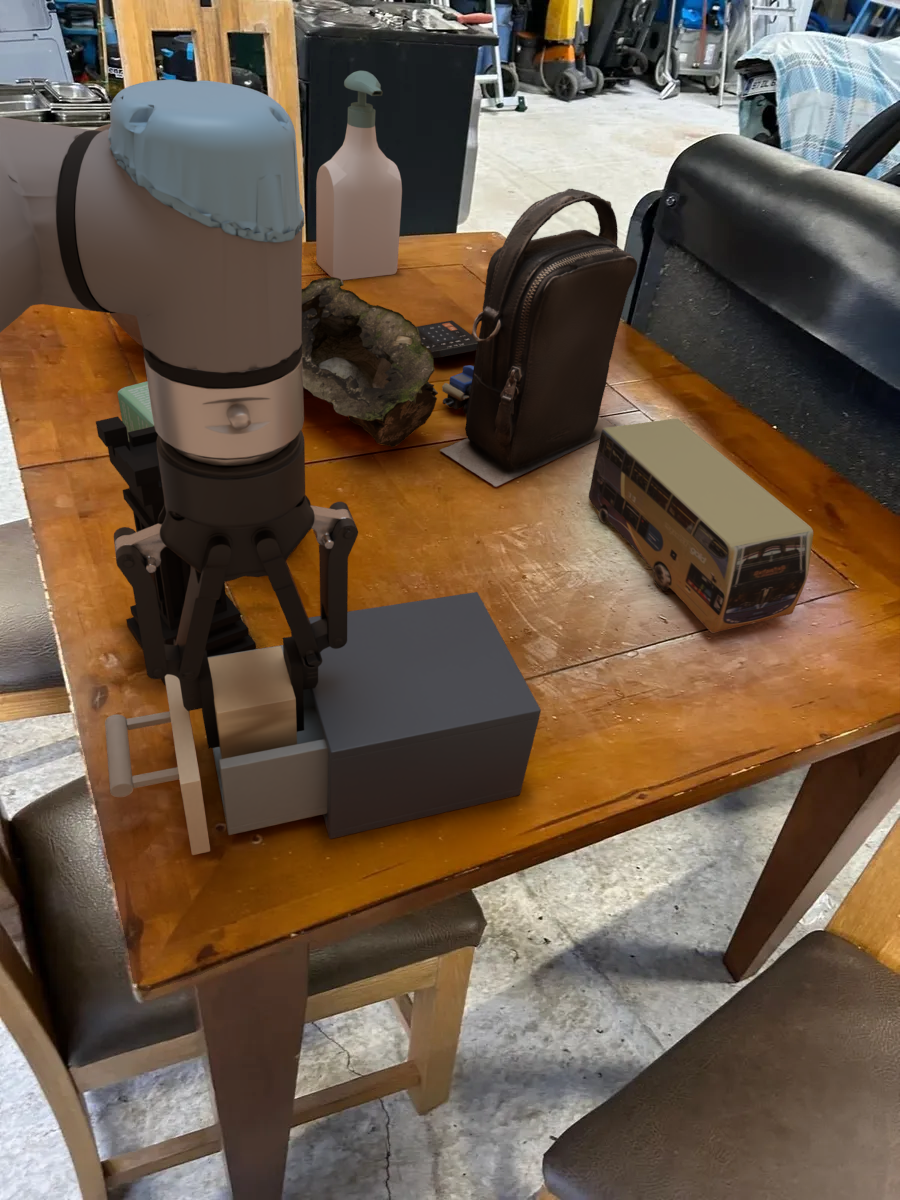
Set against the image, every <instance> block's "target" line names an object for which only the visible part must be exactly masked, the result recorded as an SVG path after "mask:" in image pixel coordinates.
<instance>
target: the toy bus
mask: <svg viewBox="0 0 900 1200" xmlns="http://www.w3.org/2000/svg"><path fill="white" fill-rule="evenodd" d="M591 475H592V477H591V481H590V487H589V488H590V489H589V492H588V499H589V501H590V503H591V505H592V506H593V507H594V509H596V510H597V512H598V519H599V520H600V522H602V523H603V524H606V523H609V524H610V525H611V526H612V527H613V528H614V529H615V530H616V532H618V533H619V534H620V535H621V536H622V537H623V538H624V539H625V541H627V543H628V544H629V545H630V546H631V547H632V548H633V549H634V550H635V552H637V553H638V555H639V556H640V557H641V558H642V559H643V560H644V561H645V563H646V564H647V565H648V566H649V567H650V569H651V570H652V571H653V573H652V574H653V581H654V583H655V585H656V586H657V587H658V588H659V589H661V590H662V591H664V592H666V591H667V590H669V589H671V591H672V592H673V593H675V595H676V596H677V597H678V598H679V599H680V600H681V601H682V602H683V603H684V604H685V606H686V607H687V608H688V609H689V610H690V612H692V614H693V615H694V616H695V617H696V618H697V619H698V620H699V621H700V622H701V623H702V624H703V626H704V627H705V628H706V629H707V630H708V631H709V632H711V633H712V634H714V633H718V632H723V631H728V630H731V629H735V628H739V627H742V626H747V625H752V624H756V623H760V622H764V621H768V620H773V619H776V618H781V617H785V616H789V615H792V614H793V613H794V611H795V609H796V606H797V604H798V602H799V599H800V597H801V594H802V592H803V590H804V587H805V585H806V583H807V579H808V576H809V569H810V562H811V556H812V548H813V539H814V530H813V528H812V526H811V525H809V524H808V523H807V522H805V521H804V520H803V519H802V518H801V517H800V516H798V515H797V514H796V513H794V512H793V511H792V510H791V509H790V508H788V507H787V506H786V505H784V504H783V503H782V502H781V501H780V500H778V498H776V497H775V496H774V495H773V494H771V493H770V492H769V491H768V490H766V489H765V488H764V487H763V486H762V485H760V484H759V483H758V482H756V481H755V480H754V479H753V478H752V477H751V476H749V475H748V474H747V473H745V471H743V470H742V469H741V468H739V467H738V466H737V465H736V464H734V463H733V462H732V461H731V460H730V459H728V458H727V457H726V456H725V455H724V454H722V452H720V451H718V450H717V448H715V447H714V446H712V445H711V444H710V443H709V442H708V441H706V440H705V439H704V438H703V437H702V436H700V435H699V434H698V433H696V432H695V431H694V430H693V429H691V428H690V427H689V426H688V425H687V424H686V423H684V422H683V421H682V420H681V419H679V418H670V419H661V420H654V421H653V420H652V421H647V422H646V421H645V422H639V423H631V424H624V425H615V427H608V428H603V429H602V432H601V437H600V438H599V442H598V446H597V452H596V457H595V460H594V466H593V471H592V474H591Z"/></svg>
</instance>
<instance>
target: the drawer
mask: <svg viewBox="0 0 900 1200" xmlns="http://www.w3.org/2000/svg"><path fill="white" fill-rule="evenodd" d="M278 646H281V648H282V652H283V644H282V645H281V644H280V645H274V646H269V647H262V648H256V650H260V649H266V648H272V647H278ZM249 651H254V650H249ZM243 652H248V651H243ZM237 653H241V652H237ZM231 654H235V653H231ZM225 655H229V654H225ZM283 655H284V653H283ZM218 656H223V655H218ZM212 657H217V656H212ZM208 658H211V657H208ZM165 683H166V685H165V689H166V697H167V702H168V703H167V704H168V708H169V709H168V710H169V711H162V712H158V713H152V714H146V715H145V714H144V715H140V716H134V717H129V718H127V717H126V716H124V715H123V714H117V713H116V714H112V715H111V714H110V715H109V716H108V717H106V719H105V720H104V726H105V727H104V728H105V742H106V757H107V768H108V769H107V771H108V781H109V793H110V795H111V796H113V797H115V798H126V797H128V796H129V795H131V794H132V793H133V791H134V789H138V788H144V787H147V786H153V785H159V784H163V783H167V782H172V781H178V780H179V785H180V792H181V797H182V798H181V799H182V804H183V809H184V816H185V821H186V828H187V834H188V839H189V845H190V852H191V855H192V856H196V855H200V854H205V853H209V852H211V845H210V839H209V838H210V837H209V830H208V824H207V817H206V808H205V803H204V802H205V801H204V796H203V790H202V781H201V776H200V775H201V774H200V769H199V764H198V757H197V751H196V746H195V740H194V733H193V727H192V721H191V715H190V711H187V710H186V709H185V707H184V706H183V699H182V693H181V687H180V681H179V679H178V678H177V677H176V676H174V675H166V676H165ZM303 702H304V730H303V731H298V732H297V744H296V745H291V746H286V747H281V748H276V749H271V750H266V751H261V752H255V753H250V754H245V755H240V756H235V757H230V758H225V759H222V758H221V752H220V747H216V748H211V749H212V754H213V759H214V764H215V771H216V776H217V783H218V787H219V792H220V798H221V803H222V808H223V809H222V810H223V814H224V820H225V825H226V826H225V827H226V831H227V835H228V836H232V835H236V834H241V833H245V832H250V831H254V830H258V829H264V828H268V827H272V826H276V825H277V826H278V825H281V824H286V823H290V822H295V821H299V820H303V819H307V818H312V817H318V816H321V815H322V816H323V814H326V813H327V803H328V749H327V745H326V742H325V739H324V735H323V732H322V729H321V725H320V722H319V719H318V715H317V712H316V709H315V705H314V702H313V699H312V695H311V692H310V689H305V690H303ZM170 723H171V731H172V737H173V744H174V750H175V751H174V752H175V757H176V758H175V759H176V767H171V768H166V769H160V770H155V771H152V772H151V771H149V772H146V773H140V774H135V775H133V771H132V761H131V751H130V740H129V731H132V730H137V729H143V728H149V727H153V726H159V725H164V724H170Z"/></svg>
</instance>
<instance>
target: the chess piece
mask: <svg viewBox="0 0 900 1200" xmlns="http://www.w3.org/2000/svg"><path fill="white" fill-rule="evenodd" d="M95 426H96V431H97V437H99V439H100V440H101V442H102V443H103V445H104V446H105V447H107V451H108V457H109V462H110V463H111V464H112V466H113V467H114V469H115V470H116V471H117V472H118V474H119V475H120V477H121V478H122V479H123V481H124V482H125V483H126V485H127V486H128V488H125V489H122V496H123V500H124V501H125V502H126V504H127V505H128V506H129V507H130V509H131V510H132V513H133V519H134V520H133V521H134V525H135V532H138V531H141V530H143V529H146V528H148V527H151V526H153V525H156V524H158V517H159V515H160V513H161V511H162V509H163V506H164V494H163V487H162V480H161V473H160V466H159V459H158V452H157V443H156V441H157V436H158V433H157V432H156V431H155V427H154V426H152V427H148V428H144V429H140V430H135V431H131V432H128V433H127V427H126V426H125V424H124V423H123V422H122V418H120V417H119V416H113V417H108V418H104V419H101V420H96V421H95ZM128 436H129V440H128ZM160 556H161V563H160V565H159V566H158V567H157V570H156V571H155V572H154V579H155V585H156V592H157V599H158V606H159V613H160V620H161V627H162V634H163V641H164V644H167V645H174V640H175V641H176V639H177V635H178V630H179V625H180V620H181V616H182V611H183V606H184V601H185V597H186V592H187V587H188V582H189V577H190V572H191V565H189V564H188V563H187V562H186V561H184V560H183V559H182V558H181V557H179V556H178V555H177V554H176V553H174V552H173V551H172V550H171V549H169V548H168V547H165V548H163V549H162V550H161V552H160ZM225 583H226V582H223V587H222V591H221V595H220V598H219V600H217V601H216V605H215V609H214V614H213V618H212V622H211V626H210V630H209V635H208V639H207V643H206V647H205V650H206V651H207V656H208V657H212V656H218V655H225V654H231V653H237V652H243V651H249V650H256V649H257V643H256V641H255V640H254V639H253V637H252V636H251V635H250V633H249V627H248V626H247V625H246V623H245V622H244V621H243V619H242V616H241V611H240V610H239V609H238V608H237V606H236V604H234V602H233V601H232V599H231V598H230V597H229V596H228V594H227V593H226V584H225ZM129 609H130V614H131V615H132V616H131V617H129V618H127V619H125V621H126V625H127V628H128V629H129V631H130V633H131V634H132V636H133V637H134V639H135V640H136V642H137V644H138V645H139V647H140V648H141V650H142V651H143V646H142V640H141V634H140V628H139V622H138V616H137V610H136V604H134V605H130V606H129ZM173 639H174V640H173ZM161 681H162V683H163V684H164V686H166V683H165V677H163V678H161Z"/></svg>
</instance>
